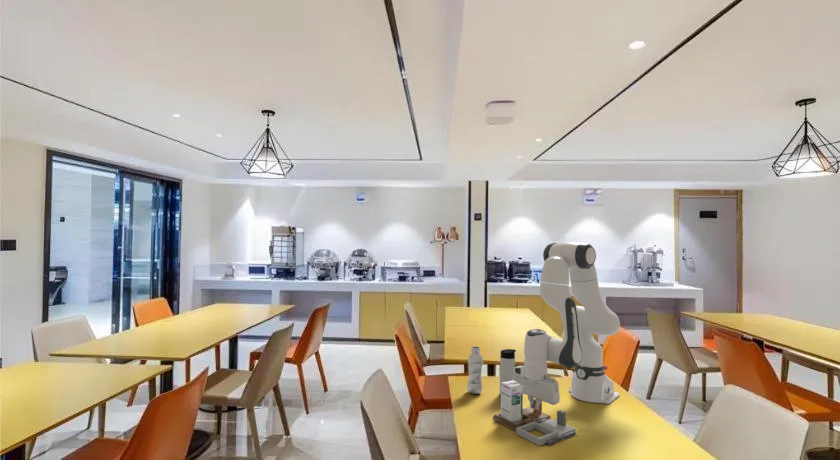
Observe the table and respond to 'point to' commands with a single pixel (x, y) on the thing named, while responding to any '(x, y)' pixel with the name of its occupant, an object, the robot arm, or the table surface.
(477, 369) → the plastic bottle
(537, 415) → the brown flat tabbed frame
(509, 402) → the syrup box
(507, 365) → the travel mug
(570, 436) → the lane rails
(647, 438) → the table surface
